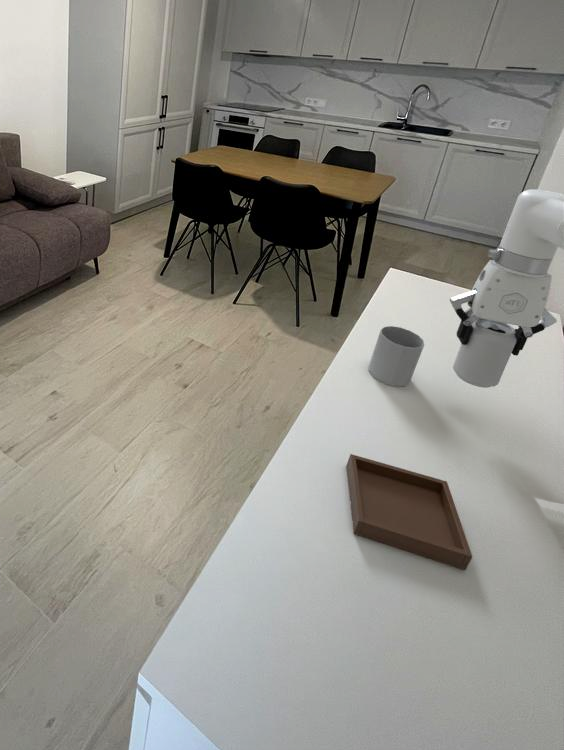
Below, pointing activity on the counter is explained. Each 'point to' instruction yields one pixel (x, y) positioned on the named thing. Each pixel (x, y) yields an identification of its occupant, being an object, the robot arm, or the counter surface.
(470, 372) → the can
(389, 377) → the cup
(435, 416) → the counter surface
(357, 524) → the tray
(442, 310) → the counter surface
